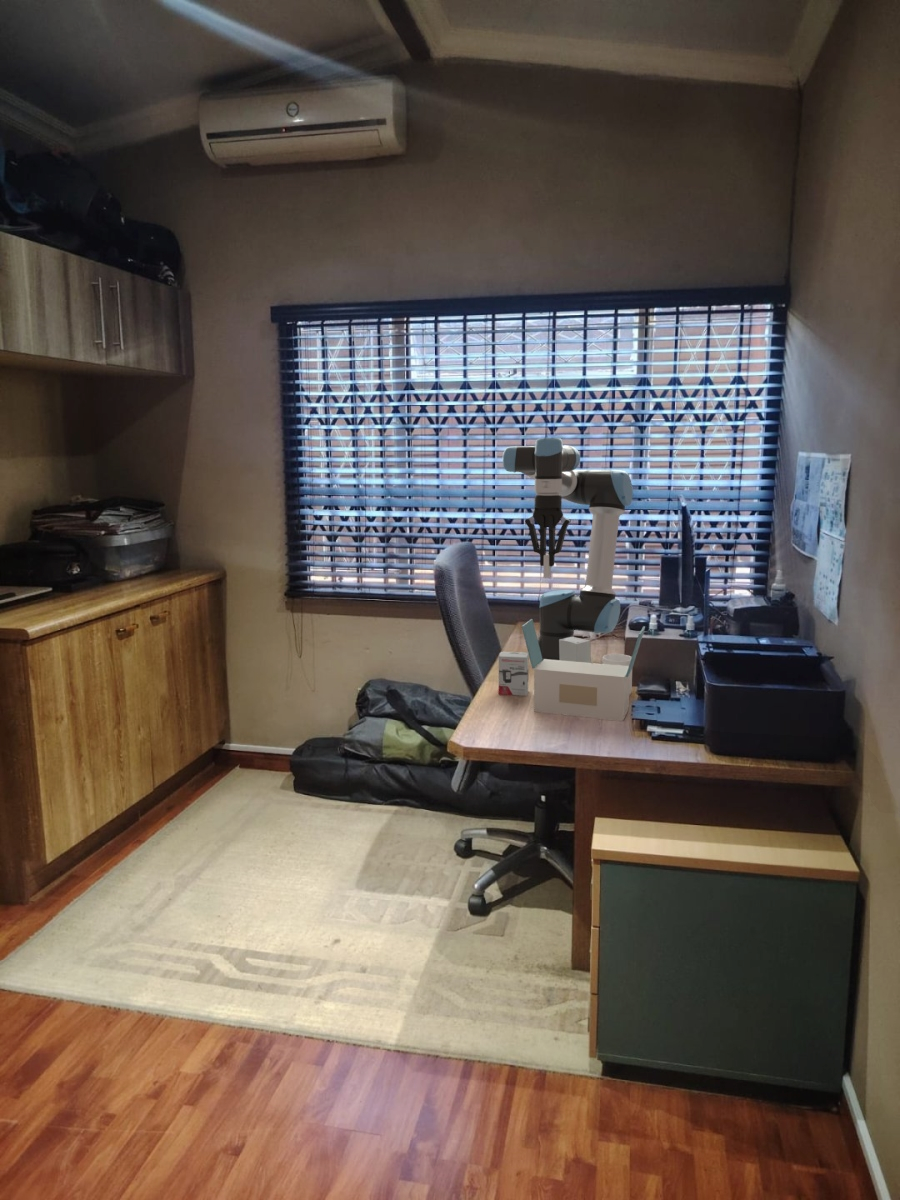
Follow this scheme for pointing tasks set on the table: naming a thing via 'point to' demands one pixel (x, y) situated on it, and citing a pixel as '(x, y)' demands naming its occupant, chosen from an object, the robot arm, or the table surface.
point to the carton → (581, 689)
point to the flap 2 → (635, 651)
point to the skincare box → (575, 650)
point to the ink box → (513, 673)
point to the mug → (618, 663)
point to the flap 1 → (532, 643)
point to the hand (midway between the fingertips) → (547, 577)
